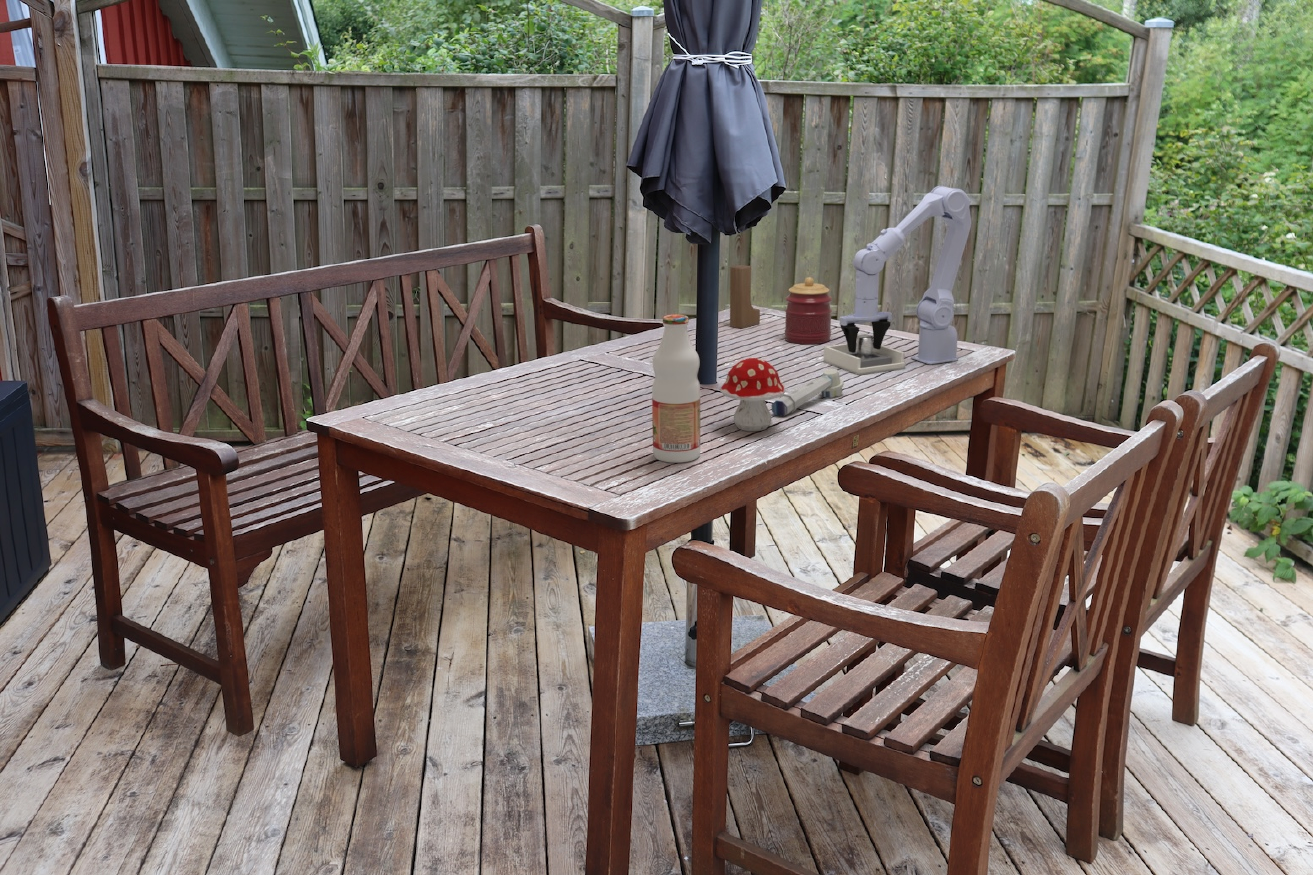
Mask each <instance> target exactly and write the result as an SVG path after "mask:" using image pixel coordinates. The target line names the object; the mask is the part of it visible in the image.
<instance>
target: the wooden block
mask: <svg viewBox="0 0 1313 875" xmlns="http://www.w3.org/2000/svg"><path fill="white" fill-rule="evenodd" d="M729 269H730V271H729V273H730V274H729V276H730V277H729V278H730V279H729V281H730V282H729V285H730V286H729V295H730V296H729V326H730V327H731V328H735V329H746V328H749V327H753V326H758V325H759V324H760V323H761V322H760V320H761V319H760V318H761V317H760V316H761V309H759V308H754V307H753V306H752V300H751V298H752V296H751V294H752V293H751V292H752V290H751V288H752V286H751V284H752V266H750V265H744V264H738V265H737V264H736V265H731V266H730V268H729Z"/></svg>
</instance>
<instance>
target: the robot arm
mask: <svg viewBox="0 0 1313 875" xmlns="http://www.w3.org/2000/svg"><path fill="white" fill-rule="evenodd" d="M971 202H972V200H971V199H970V197H969V196H968V195H967V193H966V192H965V191H964V190H963V189H961V188H953V187H948V186H945V185H938V186H935V187H933V188H932V189H931V191H930V192H928V193H926V194H925V195H924V196H923V198H922V200H921V201H920V202H919V203H918V204H917V205H916V206H915V207H914V209H912V211H910V212H909V213H908V214H907V215H906V216H905V217H904V218H903V219H902V220H901V221H900V222H899V223H898V224H897V225H896V227H888V228H886V229H885V228H882V230H881V231H880V235H879V236H878V237H876V238H875V239H874V240H873V241H872V242H871V243H869V242H868V243H867V244H866V248H863V249H862V248H861V249H860V250H858V251H857V252H856V253H855V255H854V258H853V259H852V265H853V267H854V269H855V290H854V291H855V292H854V295H855V296H854V312H853V314H848V315H844V316H839V325H840V326H839V327H840V328H841V330H842V333H843V335H844V337H845V340H846V344H847V345H848V350H849V352H852V353H855V352H856V343H857V336H858V335H859V332H860V329H861V328H860V327H858V326H857V324H864V323H871V328H872V336H873V348H875V349H880V348H881V345H882V343H883V340H884V338H885V335H886V334H887V331H888V330H889V329H890V327H891V321H892V315H893V314H892V312H890V311H886V310H885V311H878V310H879V287H880V286H879V284H880V281H879V280H880V272H881V271H882V270H884V267H885V263H886V261H887V260H888V259H889V258H891V257H892V256H893V255H894V254H895V253H896V252H898V250H900V249H901V248H902V247H903V246H904V244H905V238H906V237H907V236H908V235H910V234H911V233H912V232H913V231H914V230H916V229H917V228H918V227H919V226H920V225H922V224H923V223H925V221H927V220H928V219H929V218H932V217H940V216H941V217H942V219H943V220H944V223H945V224H946V226H947V230H946V234H945V236H944V240H943V243H942V246H941V249H940V250H941V251H940V253H939V258H938V260H937V264H936V267H935V271H934V274H933V277H932V281H931V284H930V287H928V288H927V290H926V291H924V292H923V296H922V298H921V300H920V301H919V302H918V304H917V305H916V308H915V314H916V316H917V318H918V319H919V329H918V330H919V332H918V333H919V334H918V347H917V348H918V349H917V355H913V356H910V359H912V360H914V361H918V362H920V363H924V364H927V365H935V364H936V365H937V364H941V363H951V362H957V361H959V358H957V351H958V332H957V329H956V328H955V327H954V326H953V325H951V324H952V322H953V320H954V318H955V313H954V312H955V311H954V306H955V299H954V295H953V293H952V292H953V288H954V284H955V281H956V278H957V275H958V273H959V272H958V271H959V269H960V265H961V262H962V259H963V255H964V251H965V247H966V245H967V241H968V238H969V234H970V231H971V228H972V224H973V222H972V216H971V211H970V207H971Z"/></svg>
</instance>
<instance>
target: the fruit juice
mask: <svg viewBox="0 0 1313 875" xmlns="http://www.w3.org/2000/svg"><path fill="white" fill-rule="evenodd" d="M689 321H690V320H689V316H687V315H686V314H678V313H677V314H666V315H664V316H663V317H662V325H663V326H664V328H663V334H662V337H661V340H660V344H659V346H658V347H657V349H656V351H655V352H654V354H653V357H652V362H651V363H652V365H651V366H652V368H653V372H654V380H653V381H652V382H653V383H652V387H651V388H652V389H651V406H652V409H651V411H652V414H651V415H652V420H651V421H652V454H653V456H654V458H655V459H656V460H659V461H660V462H664V463H674V464H675V463H680V464H681V463H687V462H688V463H689V462H692V461H694V460H696V459H697V460H698V458H699V457H700V455H701V384H700V381H699V379H698V374H699V368H700V357H699V354H698V352H697V351H696V349H695V347H694V346H693V343H692V340H691V338H690V336H689V331H688V326H689Z"/></svg>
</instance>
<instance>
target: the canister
mask: <svg viewBox="0 0 1313 875" xmlns="http://www.w3.org/2000/svg"><path fill="white" fill-rule="evenodd" d="M788 292H789V294H788V295H787V296H785V298H784V299H785V301H786V308H785V309H784V311H785V320H784V321H785V324H784V325H785V326H784V327H785V328H784V329H785V330H784V337H785V340H786V342H790V343H795V344H800V345H801V344H802V345H818V344H825V343H827V342H829V341H830V340H831V336H832V329H831V328H832V327H831V326H832V311H833V310H832V308H831V302H832V301H833V297H832V296H831V295H829V292H830V289H829V288H828V287H826V286H825V284H822V283H815V280H814V278H813V277H812V276H811V277H810V276H808V277H806V278H805V279H804V282H803V283H802V282H801V283H795V284H793V286H792V287H790V288H789V289H788Z"/></svg>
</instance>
